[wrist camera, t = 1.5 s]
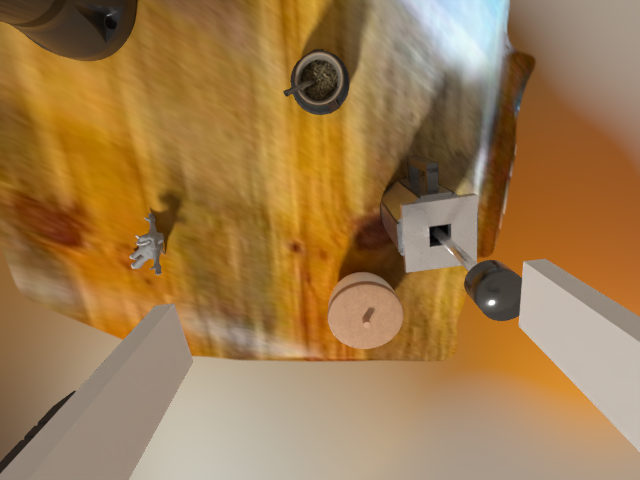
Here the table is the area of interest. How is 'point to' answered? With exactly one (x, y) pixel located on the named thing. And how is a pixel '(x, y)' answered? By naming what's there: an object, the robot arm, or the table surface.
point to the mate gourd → (319, 82)
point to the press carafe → (428, 217)
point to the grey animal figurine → (149, 247)
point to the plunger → (485, 280)
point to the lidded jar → (364, 311)
